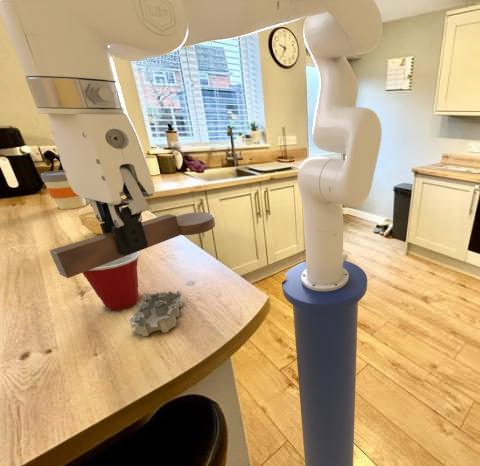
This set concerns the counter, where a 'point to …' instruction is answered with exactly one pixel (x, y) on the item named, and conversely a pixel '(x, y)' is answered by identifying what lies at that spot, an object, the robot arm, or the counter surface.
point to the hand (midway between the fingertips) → (129, 248)
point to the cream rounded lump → (90, 219)
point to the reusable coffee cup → (62, 190)
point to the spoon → (106, 249)
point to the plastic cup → (116, 282)
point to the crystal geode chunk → (156, 313)
